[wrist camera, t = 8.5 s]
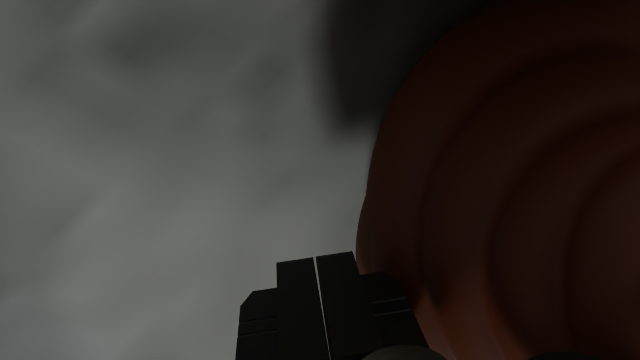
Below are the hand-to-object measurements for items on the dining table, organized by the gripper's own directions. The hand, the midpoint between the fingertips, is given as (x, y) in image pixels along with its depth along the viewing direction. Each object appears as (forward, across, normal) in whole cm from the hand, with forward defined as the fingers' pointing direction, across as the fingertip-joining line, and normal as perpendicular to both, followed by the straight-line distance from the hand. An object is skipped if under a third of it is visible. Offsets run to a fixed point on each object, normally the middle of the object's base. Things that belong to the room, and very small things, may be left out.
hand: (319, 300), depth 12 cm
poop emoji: (+3, -5, 0) cm, 6 cm away
